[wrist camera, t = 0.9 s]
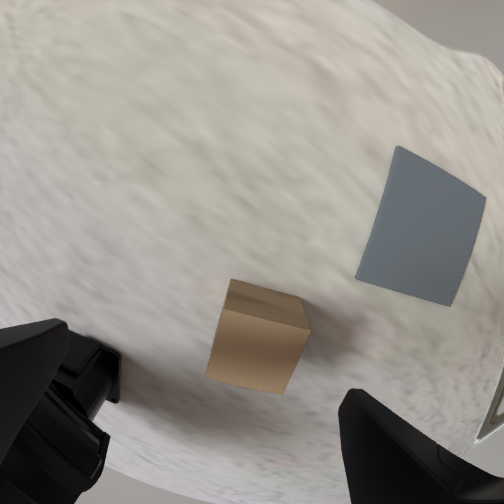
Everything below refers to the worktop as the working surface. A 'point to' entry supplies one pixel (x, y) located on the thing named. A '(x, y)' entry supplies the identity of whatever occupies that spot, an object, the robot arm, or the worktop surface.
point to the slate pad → (422, 231)
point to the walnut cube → (258, 338)
